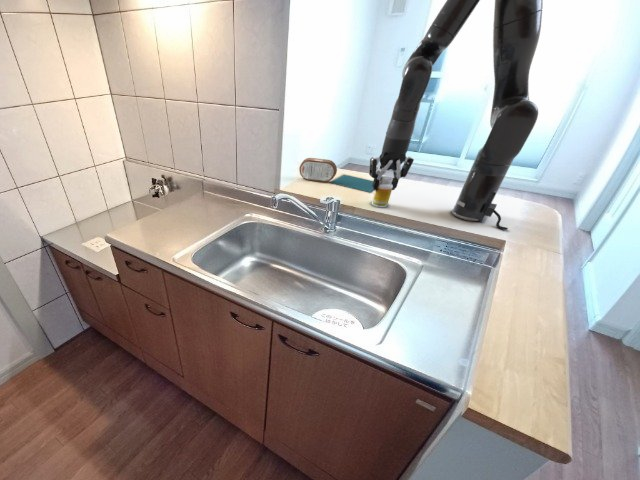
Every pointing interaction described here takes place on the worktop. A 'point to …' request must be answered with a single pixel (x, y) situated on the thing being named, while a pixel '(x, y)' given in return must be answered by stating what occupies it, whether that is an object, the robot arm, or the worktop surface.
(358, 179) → the mat
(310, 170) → the tin
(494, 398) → the worktop surface
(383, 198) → the supplement bottle
